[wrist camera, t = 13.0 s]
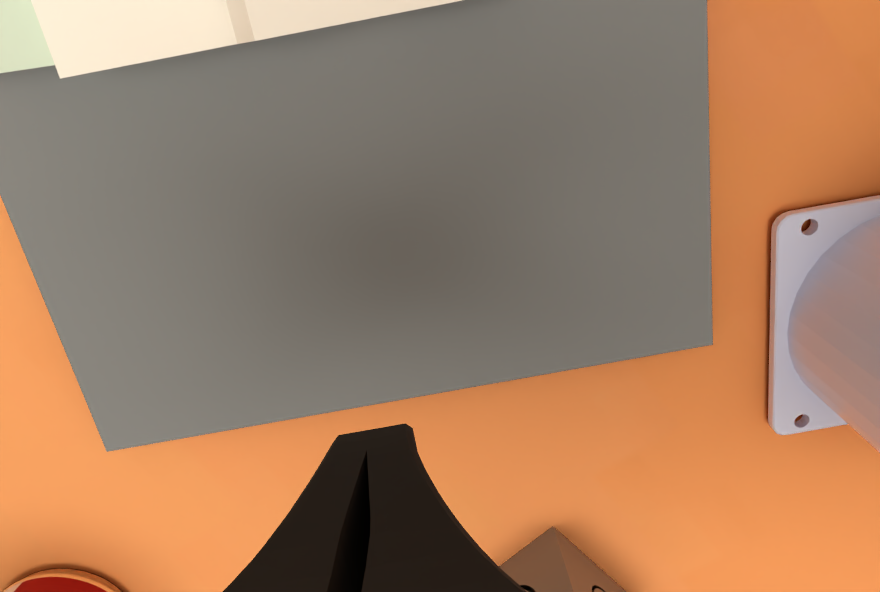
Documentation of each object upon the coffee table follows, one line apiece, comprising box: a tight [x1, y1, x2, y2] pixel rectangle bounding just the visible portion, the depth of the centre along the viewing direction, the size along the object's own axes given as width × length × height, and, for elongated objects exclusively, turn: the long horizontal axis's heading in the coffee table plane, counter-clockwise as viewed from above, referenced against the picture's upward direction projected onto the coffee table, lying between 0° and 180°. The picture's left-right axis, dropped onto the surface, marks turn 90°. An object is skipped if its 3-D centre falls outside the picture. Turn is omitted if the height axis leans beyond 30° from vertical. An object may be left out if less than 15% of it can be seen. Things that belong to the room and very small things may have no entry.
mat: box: [0, 0, 713, 452], centre depth 20 cm, size 20×18×1 cm
